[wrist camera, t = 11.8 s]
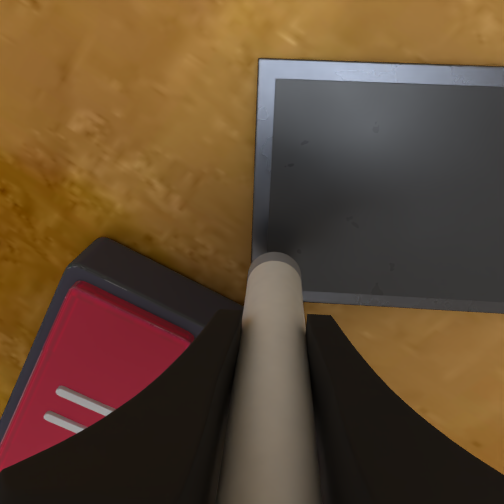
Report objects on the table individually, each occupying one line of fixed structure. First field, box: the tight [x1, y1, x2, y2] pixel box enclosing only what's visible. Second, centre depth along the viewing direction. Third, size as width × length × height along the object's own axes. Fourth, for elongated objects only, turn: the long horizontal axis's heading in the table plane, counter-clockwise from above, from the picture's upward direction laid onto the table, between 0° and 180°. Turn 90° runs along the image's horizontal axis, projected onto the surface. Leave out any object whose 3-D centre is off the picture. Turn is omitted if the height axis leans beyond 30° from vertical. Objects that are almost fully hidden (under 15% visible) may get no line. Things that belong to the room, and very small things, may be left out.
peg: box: [215, 252, 323, 504], centre depth 10 cm, size 2×2×11 cm
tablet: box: [251, 58, 504, 314], centre depth 16 cm, size 12×9×1 cm
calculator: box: [0, 237, 244, 472], centre depth 19 cm, size 11×4×15 cm
